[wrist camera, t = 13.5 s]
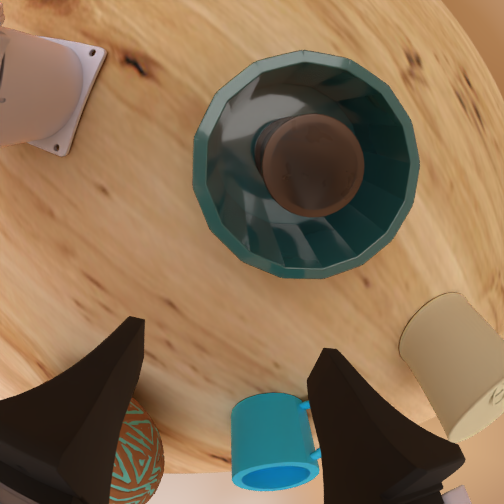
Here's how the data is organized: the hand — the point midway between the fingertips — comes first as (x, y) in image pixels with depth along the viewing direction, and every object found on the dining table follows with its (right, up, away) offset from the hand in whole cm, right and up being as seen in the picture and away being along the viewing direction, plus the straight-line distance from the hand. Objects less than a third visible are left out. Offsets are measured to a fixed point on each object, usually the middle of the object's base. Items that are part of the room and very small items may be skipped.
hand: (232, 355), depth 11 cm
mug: (+4, -13, +17) cm, 22 cm away
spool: (+3, +10, +6) cm, 12 cm away
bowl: (+3, +10, +7) cm, 13 cm away
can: (+20, -4, +14) cm, 25 cm away
